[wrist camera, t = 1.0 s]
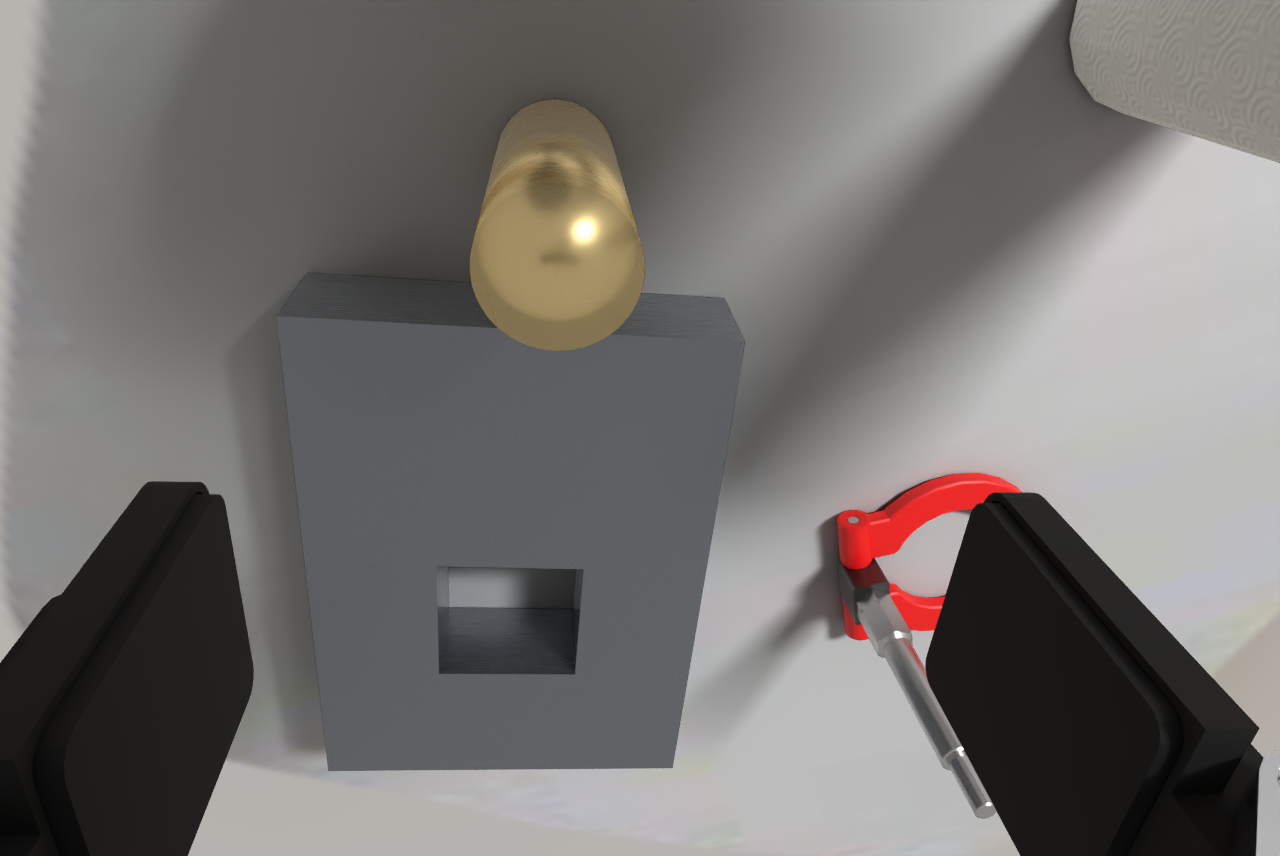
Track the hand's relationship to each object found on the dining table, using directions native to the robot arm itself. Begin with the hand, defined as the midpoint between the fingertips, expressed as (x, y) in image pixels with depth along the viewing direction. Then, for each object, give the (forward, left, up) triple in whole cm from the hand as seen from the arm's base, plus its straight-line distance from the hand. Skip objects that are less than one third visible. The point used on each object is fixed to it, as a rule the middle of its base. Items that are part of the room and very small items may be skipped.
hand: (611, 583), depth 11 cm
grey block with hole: (+15, -2, -22) cm, 26 cm away
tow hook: (+16, +17, -22) cm, 32 cm away
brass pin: (0, -1, -22) cm, 22 cm away
